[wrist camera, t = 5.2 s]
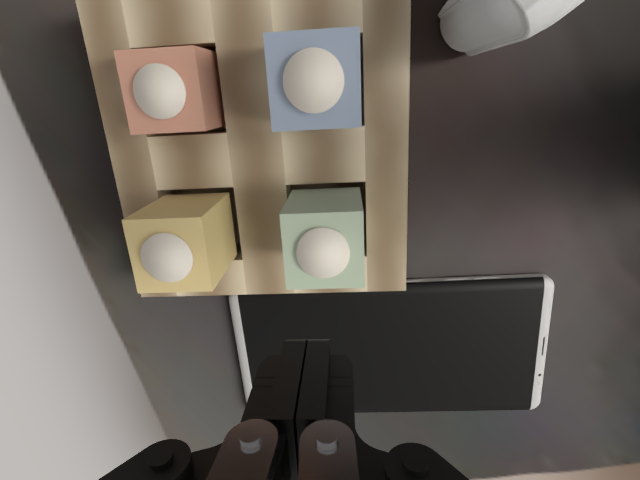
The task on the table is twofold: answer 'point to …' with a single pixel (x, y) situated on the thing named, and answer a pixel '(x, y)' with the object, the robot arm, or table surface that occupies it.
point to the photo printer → (497, 21)
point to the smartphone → (415, 340)
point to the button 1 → (170, 89)
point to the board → (263, 127)
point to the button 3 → (314, 78)
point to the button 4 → (323, 239)
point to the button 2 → (181, 242)
